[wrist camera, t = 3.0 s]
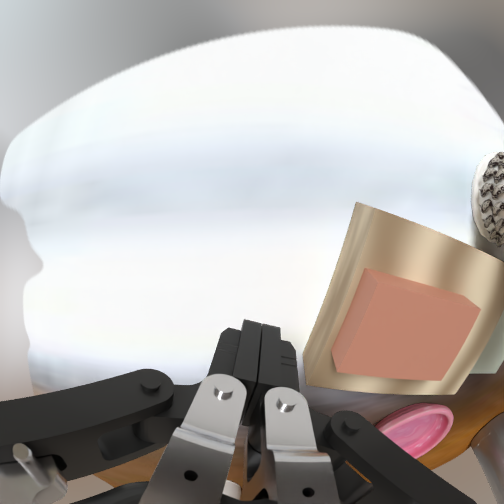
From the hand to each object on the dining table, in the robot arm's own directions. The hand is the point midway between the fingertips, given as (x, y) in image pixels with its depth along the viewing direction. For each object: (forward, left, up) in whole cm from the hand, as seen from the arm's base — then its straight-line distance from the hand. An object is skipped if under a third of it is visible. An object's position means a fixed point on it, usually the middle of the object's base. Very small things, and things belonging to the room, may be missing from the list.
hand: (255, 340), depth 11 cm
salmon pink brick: (-10, 0, -6) cm, 11 cm away
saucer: (-22, +16, -10) cm, 29 cm away
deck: (-13, 0, -10) cm, 16 cm away
